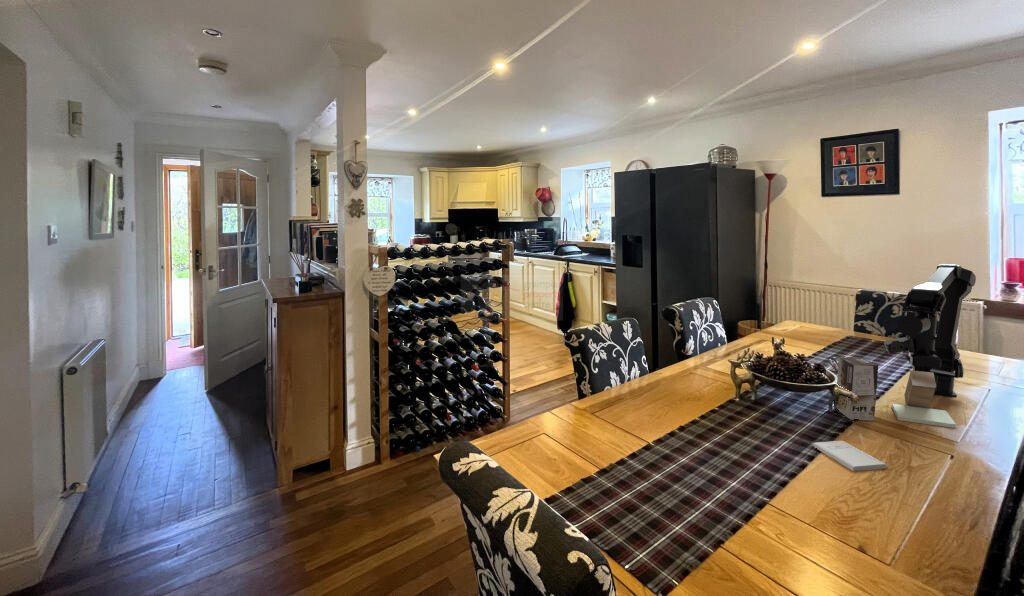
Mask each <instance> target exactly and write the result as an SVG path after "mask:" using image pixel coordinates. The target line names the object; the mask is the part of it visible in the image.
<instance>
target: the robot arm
mask: <svg viewBox="0 0 1024 596" xmlns="http://www.w3.org/2000/svg"><path fill="white" fill-rule="evenodd" d="M976 279H977V277H976V275H975V273H974V272H973V271H972V270H969V269H966V268H965V267H962V266H961V265H958V264H954V263H953V264H951V263H949V264H947V263H946V264H945V263H942V264H938V265H937V266H936V271H934V272H933V274H932V275H931V276H930V277H929V278H928V279H927V280H926V282H925V283H921V284H918V285H915V286H914V287H913V288H911V290H909V291H908V292H907V295H906V297H905V301H904V303H903V306H902V308H901V311H902V312H906V315H904V316H902V317H900V318H899V319H898V321H897V322H896V323H897V324H896V327H897V330H898V331H899V332H900V333H901V334H903V335H905V337H898V338H892V339H887V340H884V341H883V344H884V347H885V349H886V351H887V353H888V354H889V355H893V354H896V353H901V352H902V353H906V352H907V353H908V355H905V356H904V358H905V359H907V362H908V363H910V365H911V367H912V371H922V372H933V373H934V378H935V382H936V388H935V391H934V395H941V396H948V397H957V396H958V395H957V394H956V392H955V390H954V388H955V387H954V386H955V379H959V378H961V379H962V378H964V374H965V373H964V366H963V362H962V360H961V359H960V357H961V355H960V354H961V353H959V351H958V348H957V347H956V339H957V332H958V327H959V326H958V325H959V322H960V316H961V309H962V305H963V300H964V299H965V298H966V297H968V296H969V294H970V293H971V292H972V289H973V287H974V286H975V284H976V281H977V280H976ZM939 313H940V314H939ZM938 314H939V320H938ZM937 321H938V324H937Z"/></svg>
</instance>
